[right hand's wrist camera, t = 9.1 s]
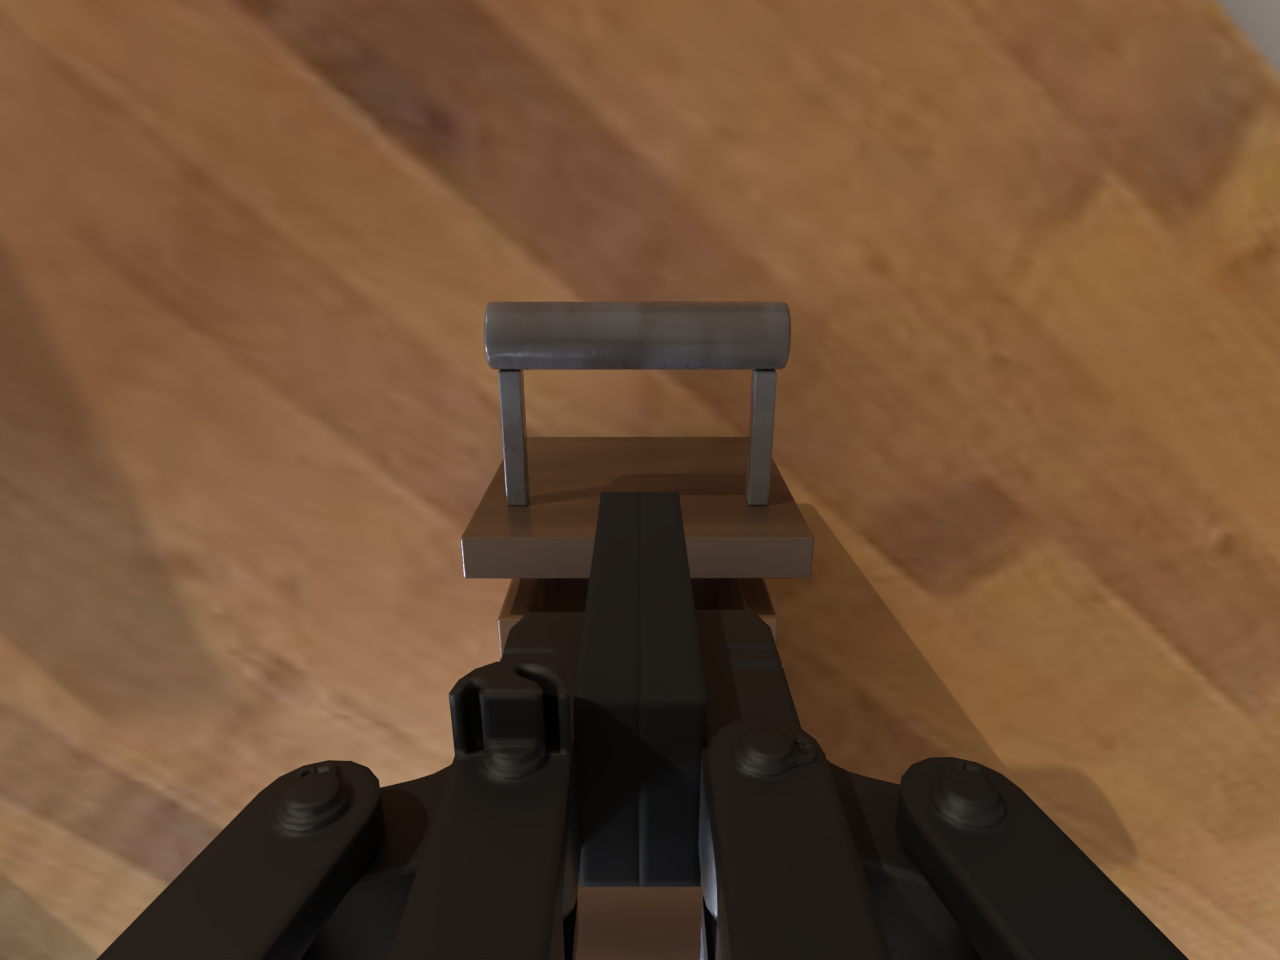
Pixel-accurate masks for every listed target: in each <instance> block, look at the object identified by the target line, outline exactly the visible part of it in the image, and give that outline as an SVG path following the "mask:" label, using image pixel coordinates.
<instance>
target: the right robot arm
mask: <svg viewBox="0 0 1280 960" xmlns="http://www.w3.org/2000/svg"><path fill="white" fill-rule="evenodd" d="M449 700H450V710H451V720H452V729H453V739H454V749H455V757H454V760H453V763H452V764H451V765H450V766H448V767H446V768H444V769H442V770H440V771H438V772H436V773H434V774H431V775H428V776H425V777H422V778H419V779H416V780H412V781H407V782H403V783H399V784H395V785H390V786H386V787H382V788H380V785H379V780H378V779H377V777H376V776H375V775H374V774H373V773H372V771H371V770H370V769H369V768H368V767H365V766H363V765H360V764H357V763H355V762H352V761H333V760H328V761H323V762H319V763H314V764H310V765H305V766H302V767H300V768H298V769H296V770H294V771H291V772H289V773H287V774H285V775H283V776H281V777H279V778H278V779H276V780H275V781H274V782H272V783H271V784H270V785H269V786H267V787H266V788H265V789H263V790H262V791H261V792H260V793H259V794H258V795H257V796H256V797H255V798H254V799H253V800H252V801H251V802H250V803H249V804H248V805H247V806H246V807H245V808H244V809H243V810H242V811H241V812H240V813H239V814H238V815H237V816H236V817H235V818H234V819H233V820H232V821H231V822H230V823H229V824H228V825H227V826H226V827H225V828H224V829H223V830H222V832H221V833H220V834H219V835H218V836H217V837H216V838H215V839H214V840H213V841H212V842H211V843H210V844H209V845H208V846H207V847H206V848H205V849H204V850H203V851H202V852H201V853H200V854H199V855H198V856H197V857H196V858H195V859H194V860H193V861H192V862H191V863H190V864H189V865H188V866H187V867H186V868H185V869H184V870H183V871H182V872H181V873H180V875H179V876H178V877H177V878H176V879H175V880H174V881H173V882H172V883H171V884H170V885H169V886H168V887H167V888H166V889H165V890H164V891H163V892H162V893H161V894H160V895H159V896H158V897H157V898H156V899H155V900H154V901H153V902H152V903H151V904H150V905H149V906H148V907H147V908H146V909H145V910H144V911H143V912H142V913H141V914H140V915H139V916H138V918H137V919H136V920H135V921H134V922H133V923H132V924H131V925H130V926H129V927H128V928H127V929H126V930H125V931H124V932H123V933H122V934H121V935H120V936H119V937H118V938H117V939H116V940H115V941H114V942H113V943H112V944H111V945H110V946H109V947H108V948H107V949H106V950H105V951H104V952H103V953H102V954H101V955H100V956H99V957H98V958H97V959H96V960H576V952H577V940H578V928H579V926H578V900H577V893H578V882H579V886H580V887H700V886H701V879H702V890H703V900H702V926H701V953H700V960H1189V959H1188V958H1187V957H1186V956H1185V955H1184V954H1183V953H1182V952H1181V951H1180V950H1179V949H1178V948H1177V947H1176V946H1175V945H1174V944H1173V943H1172V942H1171V941H1170V940H1169V939H1168V938H1167V937H1166V936H1165V935H1164V934H1163V933H1162V932H1161V931H1160V930H1159V929H1158V928H1157V927H1156V926H1155V925H1154V924H1153V923H1152V922H1151V921H1150V920H1149V919H1148V918H1147V917H1146V916H1145V915H1144V914H1143V913H1142V912H1141V911H1140V910H1139V909H1138V908H1137V907H1136V905H1135V904H1134V903H1133V902H1132V901H1131V900H1130V899H1129V898H1128V897H1127V896H1126V895H1125V894H1124V893H1123V892H1122V891H1121V890H1120V889H1119V888H1118V887H1117V886H1116V885H1115V884H1114V883H1113V882H1112V881H1111V880H1110V879H1109V878H1108V877H1107V876H1106V875H1105V874H1104V873H1103V872H1102V871H1101V870H1100V869H1099V868H1098V867H1097V866H1096V865H1095V864H1094V863H1093V862H1092V861H1091V860H1090V859H1089V858H1088V857H1087V856H1086V855H1085V854H1084V853H1083V852H1082V851H1081V850H1080V849H1079V848H1078V847H1077V845H1076V844H1075V843H1074V842H1073V841H1072V840H1071V839H1070V838H1069V837H1068V836H1067V835H1066V834H1065V833H1064V832H1063V831H1062V830H1061V829H1060V828H1059V827H1058V826H1057V825H1056V824H1055V823H1054V822H1053V821H1052V820H1051V819H1050V818H1049V817H1048V816H1047V815H1046V814H1045V813H1044V812H1043V811H1042V810H1041V809H1040V808H1039V807H1038V806H1037V805H1036V804H1035V803H1034V802H1033V801H1032V800H1031V799H1030V798H1029V797H1028V796H1027V795H1026V794H1025V793H1024V792H1023V791H1022V790H1021V789H1020V788H1019V787H1018V786H1016V785H1015V784H1014V783H1012V782H1011V781H1010V780H1009V779H1007V778H1006V777H1005V776H1003V775H1002V774H1001V773H998V772H996V771H994V770H992V769H990V768H988V767H985V766H983V765H981V764H979V763H976V762H972V761H967V760H963V759H958V758H954V757H941V758H928V759H925V760H923V761H920V762H917V763H915V764H912V765H911V766H910V768H909V769H908V770H907V771H906V772H905V773H904V775H903V776H902V779H901V785H899V784H894V783H890V782H886V781H881V780H877V779H873V778H869V777H865V776H861V775H858V774H855V773H852V772H849V771H846V770H844V769H842V768H840V767H838V766H836V765H834V764H832V763H830V762H829V761H828V760H827V759H826V756H825V754H824V752H823V751H822V749H821V747H820V746H819V744H818V743H817V741H816V740H815V739H814V738H813V737H811V736H810V735H809V734H807V733H806V732H805V731H803V730H802V729H801V725H800V722H799V719H798V716H797V712H796V709H795V706H794V703H793V699H792V696H791V693H790V690H789V686H788V683H787V680H786V677H785V673H784V670H783V668H782V666H781V660H780V657H779V654H778V651H776V644H775V641H774V638H773V634H772V631H771V628H770V626H769V625H768V624H767V623H765V622H764V621H763V620H762V619H761V618H760V617H759V616H758V615H757V614H756V613H755V612H754V611H753V610H695V608H694V601H693V593H692V586H691V578H690V571H689V564H688V556H687V549H686V541H685V534H684V526H683V519H682V512H681V504H680V497H679V492H601V497H600V504H599V512H598V519H597V526H596V534H595V541H594V549H593V556H592V564H591V571H590V578H589V586H588V593H587V601H586V608H585V612H528V613H527V614H526V615H525V616H524V617H523V618H521V619H520V620H519V621H518V622H517V623H516V624H515V625H514V626H513V627H512V628H511V629H510V631H509V634H508V637H507V641H506V644H505V647H504V653H503V654H502V657H501V660H500V662H495V663H492V664H489V665H486V666H483V667H480V668H477V669H475V670H473V671H472V672H470V673H469V674H467V675H466V676H464V677H463V678H461V679H460V680H458V682H457V683H456V684H455V686H454V687H453V689H452V690H451V692H450V693H449Z"/></svg>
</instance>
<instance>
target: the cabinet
mask: <svg viewBox="0 0 1280 960" xmlns="http://www.w3.org/2000/svg"><path fill="white" fill-rule="evenodd" d="M577 900H578V926H579V928H578V940H577V952H576V960H700V953H701V926H702V900H703V890H702V879H701V886H700V887H580V886H579V882H578V893H577Z"/></svg>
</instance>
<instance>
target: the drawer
mask: <svg viewBox="0 0 1280 960" xmlns="http://www.w3.org/2000/svg"><path fill="white" fill-rule="evenodd" d="M790 342H791V320H790V312H789V308H788V305H787V304H786V303H785V302H490V303H489V304H488V305H487V308H486V311H485V317H484V344H485V352H486V357H487V361H488V364H489V366H490V368H492V369H494V370H499V372H498V379H499V394H500V409H501V425H502V440H503V455H504V459H503V461H502V463H501V465H500V467H499V468H498V470H497V472H496V474H495V476H494V478H493V480H492V481H491V483H490V485H489V487H488V489H487V491H486V493H485V494H484V496H483V498H482V500H481V502H480V504H479V506H478V508H477V509H476V511H475V513H474V515H473V517H472V519H471V521H470V522H469V524H468V526H467V528H466V530H465V532H464V534H463V535H462V537H461V545H462V557H463V568H464V577H465V578H512V580H511V583H510V586H509V589H508V592H507V595H506V597H505V600H504V603H503V606H502V609H501V612H500V615H499V618H498V633H499V647H500V660H501V657H502V654H503V653H504V647H505V644H506V641H507V637H508V634H509V631H510V629H511V628H512V627H513V626H514V625H515V624H516V623H517V622H518V621H519V620H520V619H521V618H523V617H524V616H525V615H526V614H527V613H528V612H585V608H586V601H587V593H588V586H589V578H590V571H591V564H592V556H593V549H594V541H595V534H596V526H597V519H598V512H599V504H600V497H601V492H679V497H680V504H681V512H682V519H683V526H684V534H685V541H686V549H687V556H688V564H689V571H690V578H691V586H692V593H693V601H694V608H695V610H753V611H754V612H755V613H756V614H757V615H758V616H759V617H760V618H761V619H762V620H763V621H764V622H765V623H767V624H768V625H769V626H770V628H771V631H772V634H773V638H774V641H775V644H776V641H777V627H778V619H777V616H776V613H775V610H774V607H773V604H772V601H771V598H770V595H769V592H768V589H767V586H766V583H765V580H764V578H810V577H811V570H812V558H813V546H814V537H813V535H812V533H811V531H810V529H809V527H808V526H807V524H806V522H805V520H804V518H803V516H802V514H801V512H800V510H799V508H798V506H797V504H796V503H795V501H794V499H793V497H792V495H791V493H790V491H789V489H788V487H787V485H786V483H785V481H784V480H783V478H782V476H781V474H780V472H779V470H778V468H777V466H776V464H775V462H774V460H773V458H772V443H773V427H774V410H775V394H776V378H777V372H776V371H775V369H783V368H784V367H785V366H786V363H787V361H788V357H789V351H790ZM588 369H752V383H751V403H750V423H749V437H553V438H527V434H526V416H525V397H524V379H523V370H588Z"/></svg>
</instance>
